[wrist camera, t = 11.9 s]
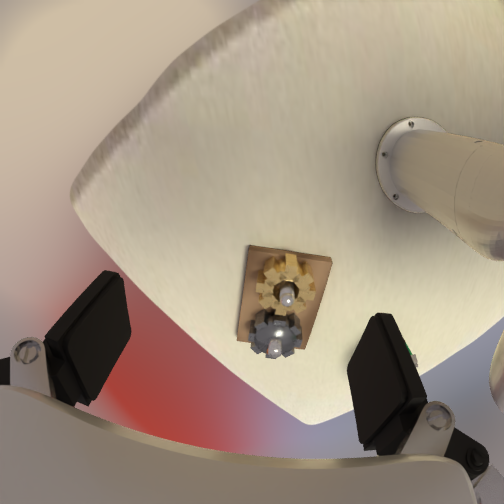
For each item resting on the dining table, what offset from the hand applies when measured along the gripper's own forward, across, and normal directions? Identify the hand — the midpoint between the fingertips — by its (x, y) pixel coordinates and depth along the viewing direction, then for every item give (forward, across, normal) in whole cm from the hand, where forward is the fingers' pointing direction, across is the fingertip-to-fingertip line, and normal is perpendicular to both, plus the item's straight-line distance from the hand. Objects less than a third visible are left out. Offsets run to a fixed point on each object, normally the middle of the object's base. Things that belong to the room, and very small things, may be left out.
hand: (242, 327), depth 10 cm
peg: (+25, -4, +12) cm, 28 cm away
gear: (+25, -4, +21) cm, 33 cm away
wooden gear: (+25, -4, +12) cm, 28 cm away
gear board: (+26, -4, +17) cm, 32 cm away
